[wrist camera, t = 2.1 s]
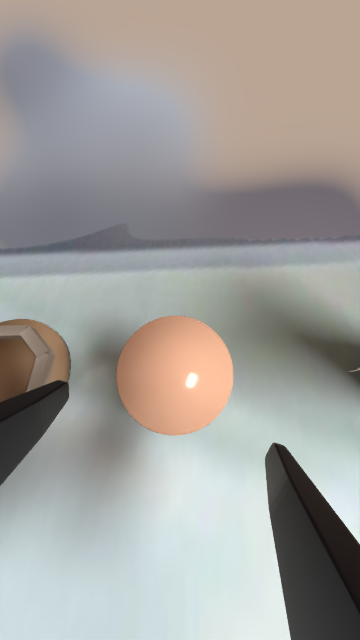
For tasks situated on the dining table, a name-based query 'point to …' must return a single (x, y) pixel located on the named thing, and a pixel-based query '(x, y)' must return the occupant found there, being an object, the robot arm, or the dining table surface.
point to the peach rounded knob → (174, 375)
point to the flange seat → (30, 357)
